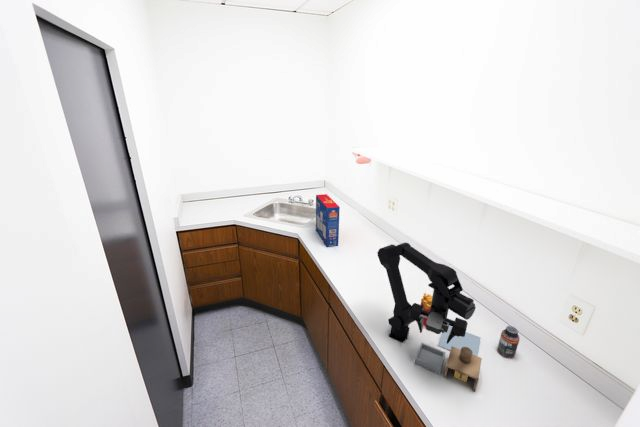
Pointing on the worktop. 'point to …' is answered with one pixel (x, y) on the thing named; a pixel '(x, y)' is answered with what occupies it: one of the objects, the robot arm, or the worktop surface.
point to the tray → (430, 358)
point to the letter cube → (460, 376)
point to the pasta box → (327, 220)
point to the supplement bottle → (508, 342)
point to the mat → (460, 341)
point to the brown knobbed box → (464, 363)
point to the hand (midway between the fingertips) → (433, 337)
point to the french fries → (426, 305)
